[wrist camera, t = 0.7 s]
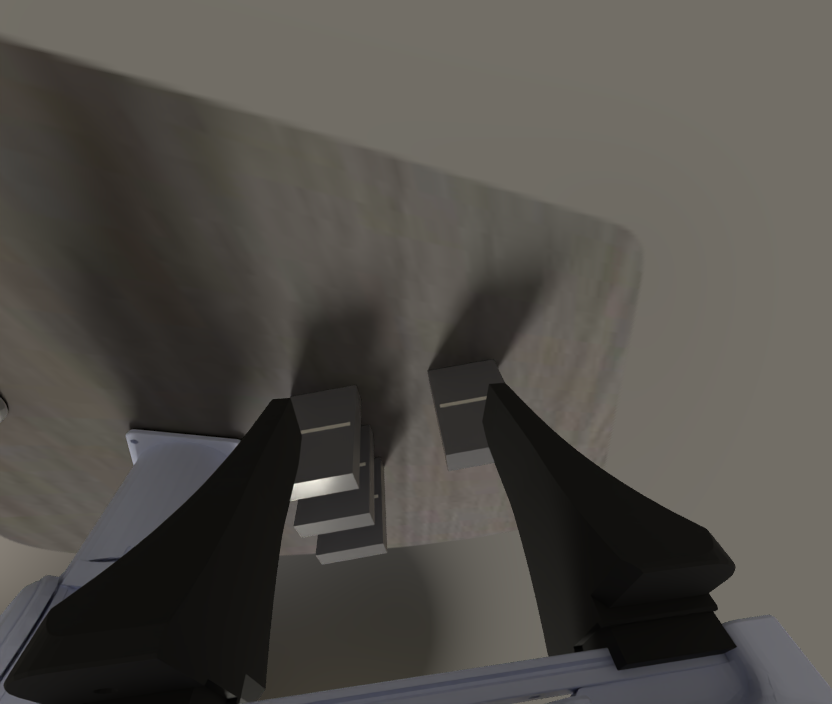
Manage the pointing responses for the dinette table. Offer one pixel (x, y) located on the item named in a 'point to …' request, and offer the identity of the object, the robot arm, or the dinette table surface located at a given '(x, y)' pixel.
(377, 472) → the domino
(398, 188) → the dinette table surface
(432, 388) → the domino
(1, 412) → the chess piece
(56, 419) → the dinette table surface
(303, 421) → the domino
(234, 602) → the robot arm
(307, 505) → the domino
